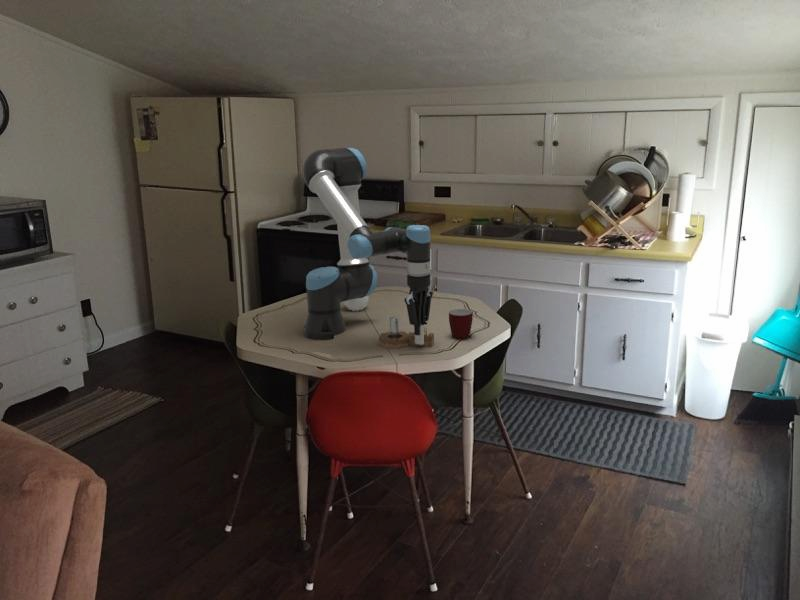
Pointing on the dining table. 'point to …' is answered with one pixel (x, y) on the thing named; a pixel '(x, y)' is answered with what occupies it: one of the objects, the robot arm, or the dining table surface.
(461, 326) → the mug
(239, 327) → the dining table surface
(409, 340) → the flange lever
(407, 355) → the dining table surface
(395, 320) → the post
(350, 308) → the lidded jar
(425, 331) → the dowel
